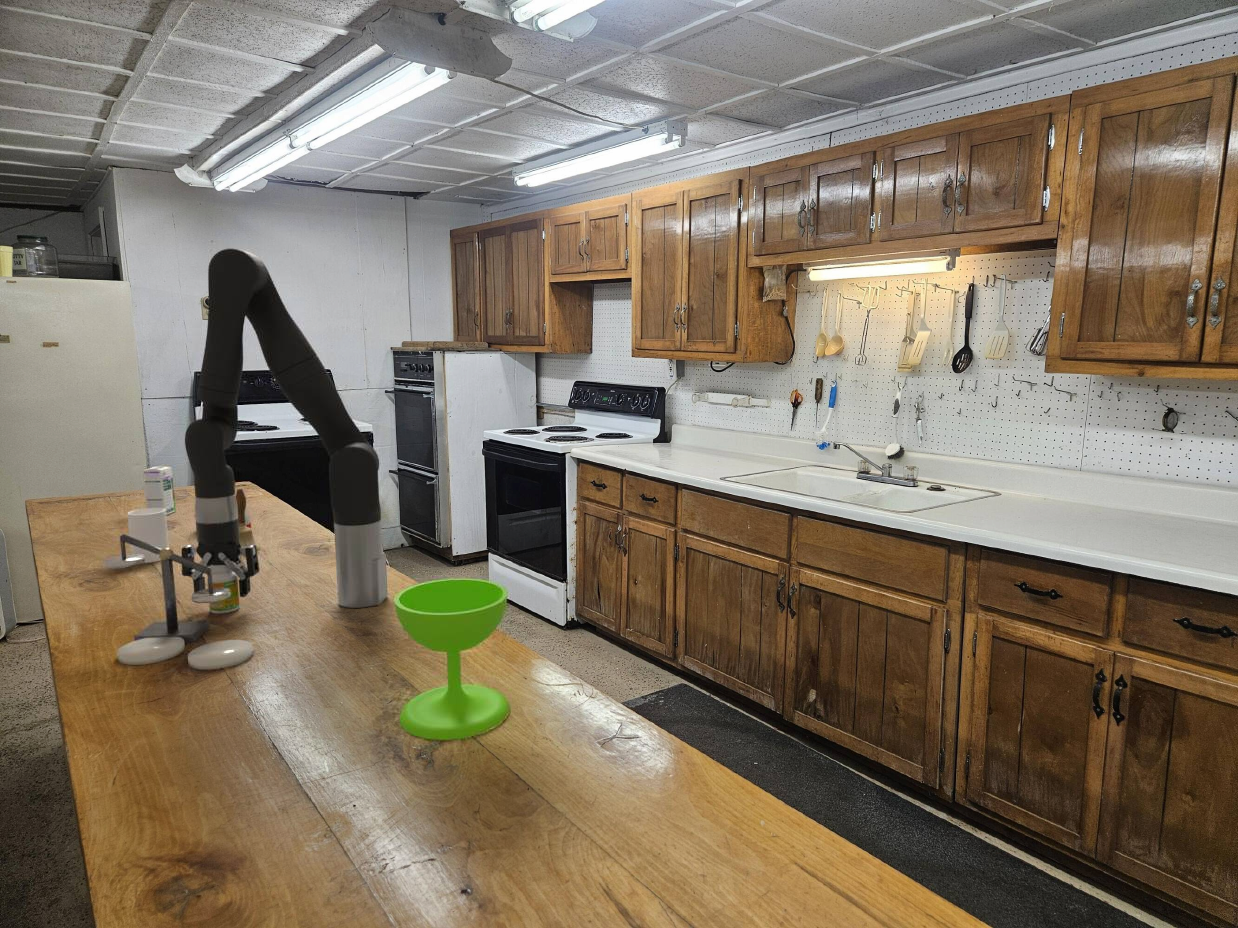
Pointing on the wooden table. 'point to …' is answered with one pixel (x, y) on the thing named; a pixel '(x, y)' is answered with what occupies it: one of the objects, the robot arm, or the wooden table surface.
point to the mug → (148, 530)
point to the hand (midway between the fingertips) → (222, 595)
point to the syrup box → (159, 488)
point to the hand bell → (244, 532)
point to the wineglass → (452, 654)
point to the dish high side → (150, 650)
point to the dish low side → (220, 654)
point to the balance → (170, 591)
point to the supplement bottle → (224, 579)
